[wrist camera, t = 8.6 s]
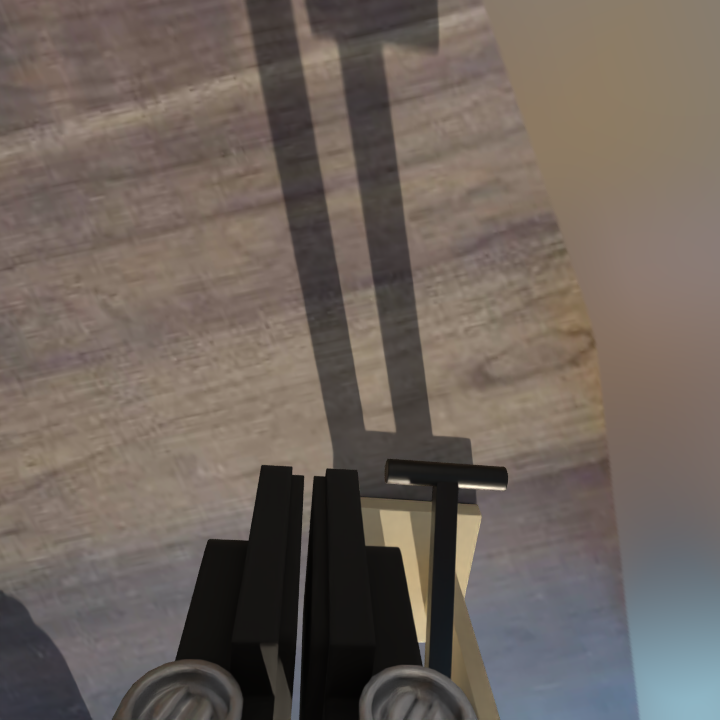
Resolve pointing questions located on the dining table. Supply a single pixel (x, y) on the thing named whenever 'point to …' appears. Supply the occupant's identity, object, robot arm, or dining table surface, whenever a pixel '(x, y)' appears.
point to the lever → (443, 540)
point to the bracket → (412, 535)
